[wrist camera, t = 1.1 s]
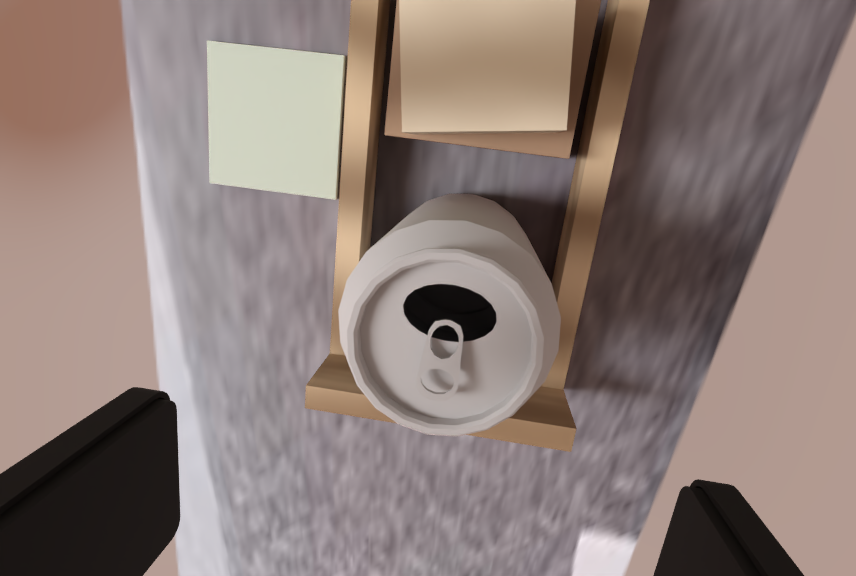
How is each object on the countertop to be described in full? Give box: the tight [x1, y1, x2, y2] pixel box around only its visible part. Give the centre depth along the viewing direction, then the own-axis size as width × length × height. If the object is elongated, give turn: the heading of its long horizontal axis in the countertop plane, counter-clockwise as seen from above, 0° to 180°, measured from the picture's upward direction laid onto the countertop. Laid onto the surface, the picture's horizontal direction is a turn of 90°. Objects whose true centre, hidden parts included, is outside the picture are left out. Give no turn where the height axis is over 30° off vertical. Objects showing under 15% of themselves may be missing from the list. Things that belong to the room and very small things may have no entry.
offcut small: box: [399, 0, 576, 134], centre depth 18 cm, size 5×6×3 cm
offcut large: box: [384, 0, 601, 159], centre depth 22 cm, size 6×8×4 cm
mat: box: [207, 41, 346, 200], centre depth 25 cm, size 7×7×1 cm
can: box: [338, 194, 561, 436], centre depth 20 cm, size 8×8×12 cm
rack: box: [305, 0, 650, 452], centre depth 22 cm, size 21×12×6 cm, turn 173°
